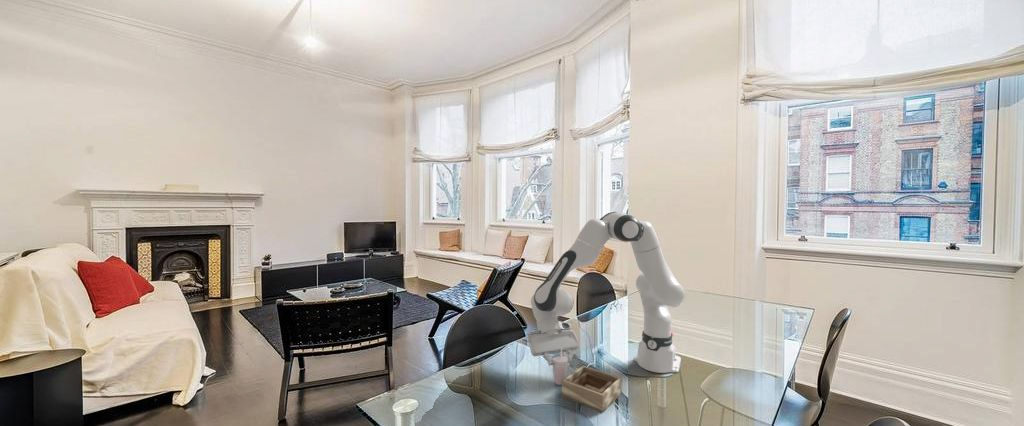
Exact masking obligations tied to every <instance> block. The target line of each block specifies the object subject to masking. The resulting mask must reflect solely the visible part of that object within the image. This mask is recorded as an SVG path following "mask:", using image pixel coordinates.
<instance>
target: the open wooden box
mask: <svg viewBox="0 0 1024 426" xmlns="http://www.w3.org/2000/svg"><path fill="white" fill-rule="evenodd" d="M622 389H623V378H622V377H619V376H617V375H613V374H610V373H607V372H604V371H600V370H598V369H595V368H592V367H588V366H585V365H582V366H580V367H579V368H577V369H576V370H574V371H573V372H572V373H571V374H569V375H568V376H567V377H565V379H564V380H562V385H561V398H563V399H566V400H569V401H572V402H574V403H577V404H579V405H582V406H584V407H587V408H589V409H591V410H594V411H597V412H599V411H600V413H602V412H603V413H604V412H605V411H606V410H607V409H608V408H609V407H610V406H611V405H613V403H614V402H615V401H616V400H617V399H618V398H619V397H620V396H621V395H622V391H623V390H622Z"/></svg>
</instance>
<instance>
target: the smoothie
mask: <svg viewBox="0 0 1024 426" xmlns="http://www.w3.org/2000/svg"><path fill="white" fill-rule="evenodd" d="M551 359H553V362H554V364H553V365H552V372H553V381H554V384H555V385H556V386H562V380H564V379H565V378H566V371H567V366H568V363H569V362H568V358H567V356H566V355H563V352H562V347H561V352H560V354H556V355H552V357H551Z"/></svg>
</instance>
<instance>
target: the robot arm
mask: <svg viewBox="0 0 1024 426" xmlns="http://www.w3.org/2000/svg"><path fill="white" fill-rule="evenodd" d="M611 239H613V240H617V241H620V242H630V244H631V249H632V251H633V254H634V258H635V261H636V264H637V267H638V269H639V270H640V271H641V274H639V275H638V276H637V278H636V281H635V287H636V289H637V291H638V293H639V297H640V299H641V304H642V310H643V330H642V334H641V341H639V342H638V346H637V355H636V356H634V357H633V360H634V361H635V362H636V363H637V364H638V366H639V367H640V368H642V369H643V370H646V371H649V372H652V373H657V374H658V373H659V374H668V373H679V372H680V367H681V362H682V358H681V356H679V355H677V353H676V352H677V348H676V345H674V343H673V336H674V332H673V331H672V323H673V322H672V319H673V318H672V315H671V312H670V311H669V309H668V307H671V308H676V307H677V308H678V307H680V306H681V305H682V304H683V302H684V301H685V298H686V291H685V288H684V287H683V286H682V285H681V284H680V283H679V282H678V280H677V278H676V276H675V275H674V274H673V272H672V270H671V268H670V267H669V265H668V263H667V261H666V258H665V255H664V254H663V250H662V246H661V243H660V240H659V238H658V235H657V233H656V230H655V228H654V226H653V225H652V224H651V222H650V221H646V220H638V219H637V218H636V217H634V216H633V215H631V214H627V213H625V212H616V211H611V212H607V213H606V214H604V216H602V217H601V218H599V219H598V218H591V219H589V220H588V221H587V222H586V224H585V225H584V226H583V228H582V229H581V231H580V232H579V234H578V236H577V238H576V239H575V241H574V242H573V244H572V245H571V247H570V248H569V249H568V250H567V251H566V252H564V253H563V254H562V255H561V256H560V258H559V259H558V260H557V261H556V263H555V265H554V266H553V268H552V269H551V270H550V272H549V274H548V275H547V277H546V278H545V280H544V281H543V283H541V284H540V285H539V286H537V288H536V290H535V291H534V294H533V295H532V296H531V299H530V300H531V301H530V305H531V309H532V313H533V317H534V319H535V320H536V326H537V331H530V332H529V333H528V334H527V335H526V336H527V337H526V338H527V341H528V342H529V349H530V354H531V355H532V356H533V357H539V356H542V357H543V358H544V360H545V361H546V362H547V364H548V366H550V367H551V366H553V364H554V362H553V359H552V358H550V357H549V355H553V354H558V353H560V354H561V347H562V353H565V354H566V355H567V356H566V357H567V358H568V363H571V362H572V356H571V355H572V351H577V349H579V347H580V340H579V339H578V336H577V334H576V332H575V330H573V329H572V328H573V326H572V324H571V323H569V322H565V321H560V320H559V319H558V317H562V316H564V315H566V314H568V313H570V312H571V311H573V308H574V297H573V295H572V293H570V292H568V291H567V290H564V289H561V288H560V287H561V286H562V284H563V283H564V281H565V280H566V278H567V276H568V275H569V274H570V273H571V272H572V271H573V270H575V269H578V268H584V267H590V266H592V265H593V264H594V263H596V261H597V260H598V258H599V256H600V255H601V253H602V251H603V248H604V246H605V245H606V243H607V242H608V241H609V240H611ZM559 288H560V289H559Z"/></svg>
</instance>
